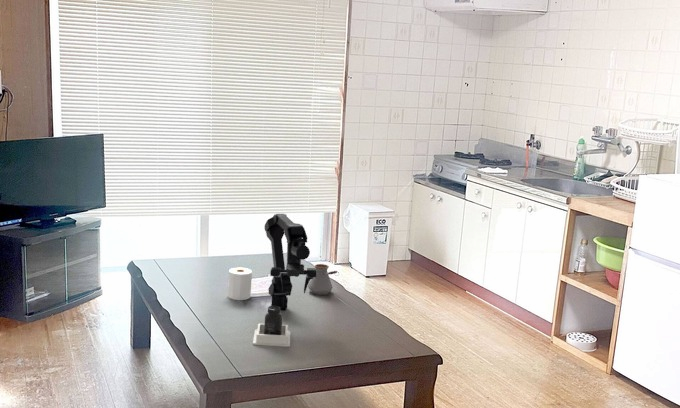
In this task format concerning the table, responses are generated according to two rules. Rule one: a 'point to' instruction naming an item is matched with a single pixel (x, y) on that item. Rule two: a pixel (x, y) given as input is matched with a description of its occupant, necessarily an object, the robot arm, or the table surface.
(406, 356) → the table surface
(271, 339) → the holder
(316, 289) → the coffee pot
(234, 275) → the toilet paper
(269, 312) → the supplement bottle
